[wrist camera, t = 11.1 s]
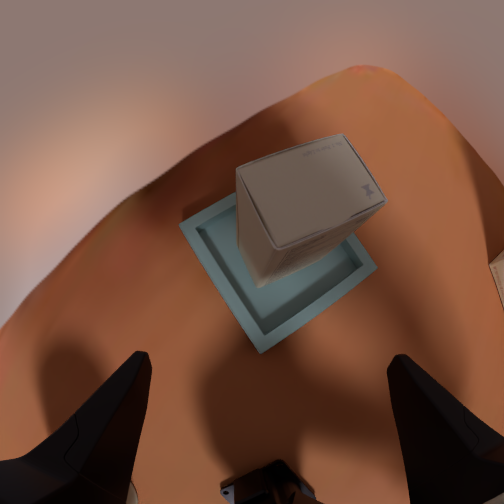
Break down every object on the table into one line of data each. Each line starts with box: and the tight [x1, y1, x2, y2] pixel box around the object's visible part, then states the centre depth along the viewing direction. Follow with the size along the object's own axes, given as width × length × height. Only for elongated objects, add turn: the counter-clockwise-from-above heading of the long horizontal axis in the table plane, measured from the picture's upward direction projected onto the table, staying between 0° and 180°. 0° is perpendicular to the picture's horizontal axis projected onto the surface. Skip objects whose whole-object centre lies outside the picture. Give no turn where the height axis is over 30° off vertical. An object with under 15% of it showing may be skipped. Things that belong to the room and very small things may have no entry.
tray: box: [178, 192, 378, 354], centre depth 23 cm, size 12×12×2 cm
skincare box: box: [236, 134, 388, 288], centre depth 18 cm, size 6×4×12 cm
